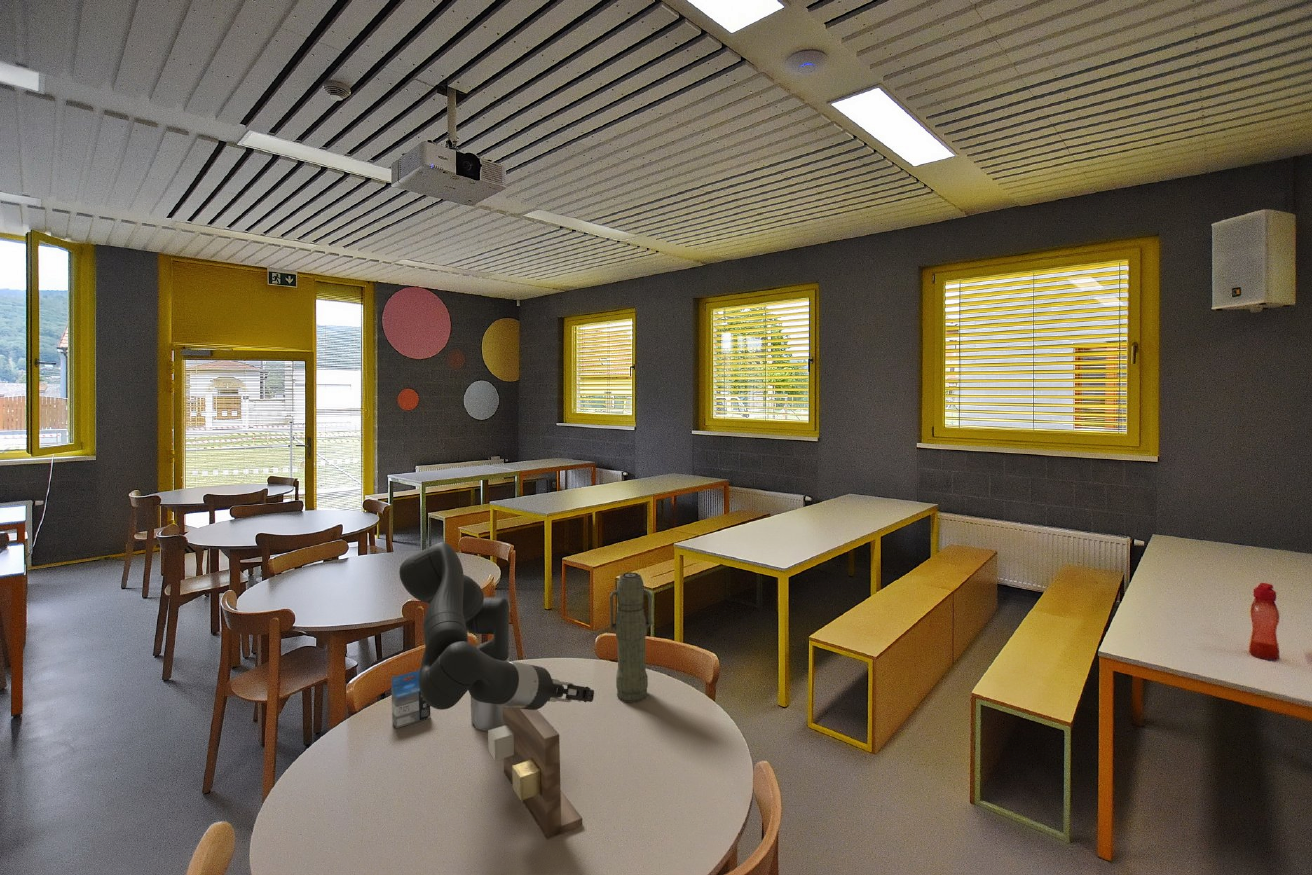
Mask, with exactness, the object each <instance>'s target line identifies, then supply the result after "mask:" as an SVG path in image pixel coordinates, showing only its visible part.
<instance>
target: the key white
mask: <svg viewBox="0 0 1312 875" xmlns="http://www.w3.org/2000/svg"><path fill="white" fill-rule="evenodd" d="M487 738H488V743H487V744H488V752H489V754H490V755H491V756H492V758H493V760H494V762H495V761H498V760H502V759H503V758H505V757H509V756H512V755H514V733H513V732H512V731H511V729H510V728H509V727H508V725H505V726H502V727H498V728H495V729H491V730H488V731H487Z"/></svg>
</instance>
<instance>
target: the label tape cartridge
mask: <svg viewBox="0 0 1312 875" xmlns="http://www.w3.org/2000/svg"><path fill="white" fill-rule="evenodd" d="M419 673H420V669H419V670H418V669H417V670H415V671H411V672H408V673H403V674H401V675H395V676H392V677H391V678H390V679H391V680H390V681H391V719H392V720H391V721H392V724H393V726H394V727H395V728H396V727H397V728H396V729H399V728H402V727H406V726H410V725H412V724H414V723H415V724H416V723H417V722H421V721H424V720H427V719H430V718H432V717H431V706H430V705H428V704H427V703H426V702H425V700H424V699H423V697H422V695H421V692H420V689H419ZM408 677H409V678H410V679H407V678H408ZM412 677H413V678H412ZM406 679H407V680H406Z"/></svg>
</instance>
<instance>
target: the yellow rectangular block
mask: <svg viewBox="0 0 1312 875" xmlns="http://www.w3.org/2000/svg"><path fill="white" fill-rule="evenodd" d="M512 777H513V786H512V789H513V791H514V792H515V794H516V796H517V798H518V799H519V800H520V801H522V800H524V799H527V798H530V797H532V796H535V795H538V794H541V793H542V787H541V769H540V768H539V766H538V765H537V764H536V762H535V761H534V760H533V759H532V760H529V761H526V762H523V763H520V764H516V765H513V766H512Z"/></svg>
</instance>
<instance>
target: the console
mask: <svg viewBox="0 0 1312 875" xmlns="http://www.w3.org/2000/svg"><path fill="white" fill-rule="evenodd" d="M505 725H508V727H509V728H510V729H511V731H512V732H513V733H514V755H512V756H509V757H505V758H502V759H503V774H504V775H505V777H506V778H507V780H508V781H509V783H510V784H511V786H512V787H513V777H512V766H513V765H516V764H520V763H523V762H526V761H529V760H532V759H533V760H534V761H535V762H536V764H537V765H538V766H539V768H540V769H541V787H542V793H541V794H538V795H535V796H532V797H530V798H527V799H524V800H521V802H522V803H523V804H524V806H525V808H526V809H527V810H528V812H529V814H530V815H531V817H532V818H533V820H534V821H535V823H536V824H537V826H538V828H539V829H540V831H541V832H542V834H543V836H544V837H545V839H546V840H549V839H552V838H554V837H556V836H559V835H561V834H564V833H567V832H569V831H573V829H576V828H579V827H581V826H583V817H582V816H581V814H580V813H579V812H578V810H577V809H576V808H575V806H574V805H573V804H572V802H571V801H570V800H569V799H568V797H567V796H566V794H565V793H564V792H563V791H562V788H561V755H560V754H561V751H560V750H561V749H560V733H559V732H558V731H557V730H556V729H555V728H554V727H553V726H552V724H551V723H550V722H549V721H548V719H546V718H545V717H544V715H543V714H542V713H541V712H540V711H539V709H537V710H527V709H519V708H511V707H505V706H502V726H505Z"/></svg>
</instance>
